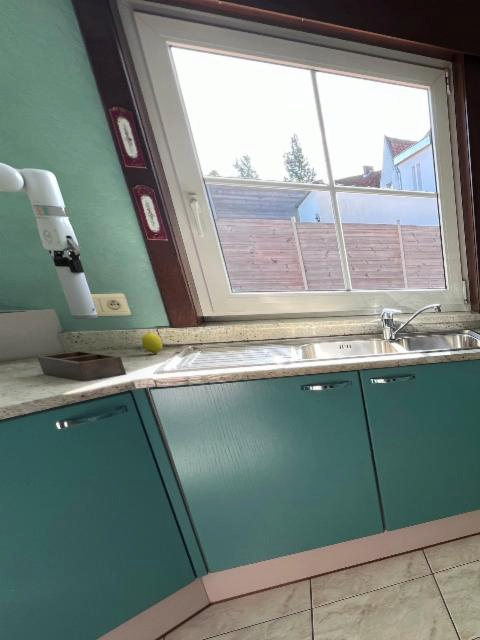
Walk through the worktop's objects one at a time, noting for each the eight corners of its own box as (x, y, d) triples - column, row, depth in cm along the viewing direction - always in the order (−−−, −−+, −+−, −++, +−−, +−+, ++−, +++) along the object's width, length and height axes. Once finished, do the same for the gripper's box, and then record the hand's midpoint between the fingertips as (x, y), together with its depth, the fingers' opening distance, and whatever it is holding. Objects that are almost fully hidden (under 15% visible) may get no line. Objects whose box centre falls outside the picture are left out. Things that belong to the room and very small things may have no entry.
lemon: (149, 356, 181) (142, 334, 178) (143, 354, 184) (136, 332, 181) (167, 353, 185) (161, 332, 182) (161, 352, 188) (155, 331, 185)
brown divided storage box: (84, 381, 147) (77, 362, 144) (43, 374, 153) (36, 356, 151) (126, 374, 156) (120, 356, 154) (86, 367, 162) (80, 350, 160)
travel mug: (103, 317, 171) (83, 256, 164) (78, 319, 165) (57, 255, 158) (93, 316, 173) (73, 255, 166) (69, 317, 167) (47, 255, 160)
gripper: (18, 211, 156) (40, 271, 163) (52, 212, 151) (73, 273, 158) (49, 213, 163) (68, 271, 169) (83, 214, 158) (101, 273, 165)
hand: (70, 271), depth 164 cm, fingers closed on travel mug, 6 cm apart
